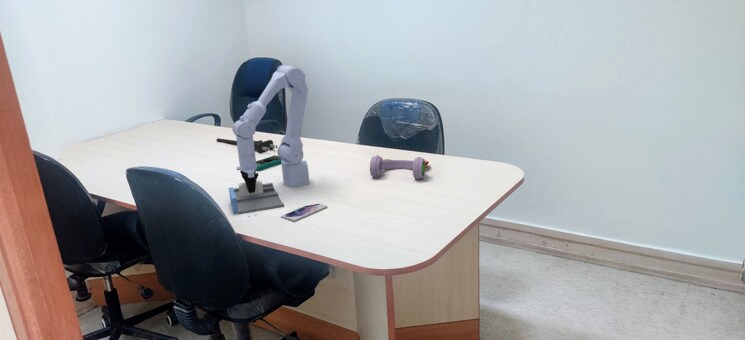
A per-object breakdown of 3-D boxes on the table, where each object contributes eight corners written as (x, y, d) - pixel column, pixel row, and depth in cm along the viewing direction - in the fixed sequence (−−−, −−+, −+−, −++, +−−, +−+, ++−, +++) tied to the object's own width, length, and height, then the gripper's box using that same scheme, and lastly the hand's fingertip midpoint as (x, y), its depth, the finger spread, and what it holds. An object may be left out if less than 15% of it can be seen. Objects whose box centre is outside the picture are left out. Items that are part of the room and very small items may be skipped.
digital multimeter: (287, 163, 233) (286, 156, 232) (259, 172, 222) (258, 165, 222) (275, 160, 238) (275, 154, 237) (248, 169, 227) (247, 162, 226)
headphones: (368, 160, 204) (381, 140, 221) (370, 184, 208) (383, 162, 225) (420, 162, 198) (430, 141, 216) (421, 187, 203) (431, 164, 220)
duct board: (272, 186, 204) (270, 170, 202) (284, 208, 182) (282, 191, 180) (227, 193, 199) (225, 177, 197) (234, 217, 177) (232, 199, 176)
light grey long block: (273, 188, 199) (272, 178, 198) (274, 191, 196) (273, 181, 195) (239, 194, 196) (238, 183, 194) (240, 196, 193) (239, 186, 192)
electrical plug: (266, 155, 245) (265, 144, 243) (211, 146, 270) (209, 137, 269) (281, 150, 251) (279, 140, 250) (225, 142, 277) (224, 133, 275)
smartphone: (279, 216, 175) (313, 202, 186) (280, 218, 176) (314, 204, 186) (294, 221, 171) (328, 206, 182) (294, 223, 171) (328, 208, 182)
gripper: (232, 150, 196) (237, 186, 200) (237, 161, 183) (242, 199, 187) (252, 148, 198) (256, 183, 203) (258, 158, 185) (262, 195, 189)
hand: (251, 190), depth 195 cm, fingers closed on light grey long block, 3 cm apart
